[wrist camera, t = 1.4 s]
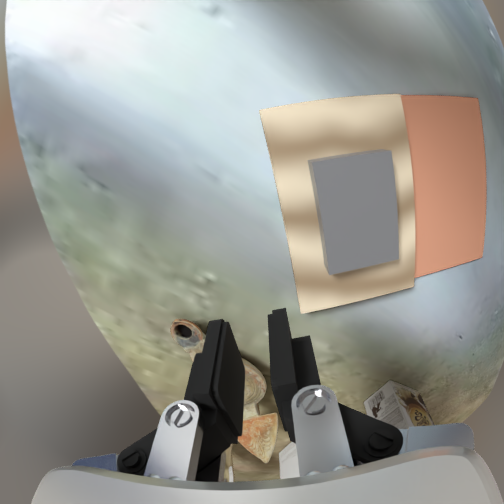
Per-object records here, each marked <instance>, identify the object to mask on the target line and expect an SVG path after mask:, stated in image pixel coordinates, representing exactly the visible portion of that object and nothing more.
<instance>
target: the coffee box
mask: <svg viewBox="0 0 504 504" xmlns="http://www.w3.org/2000/svg"><path fill="white" fill-rule="evenodd" d="M364 406H365V409H366V413H367V415H368V416H371V417H373V418H375V419H378V420H381V421H383V422H386V423H388V424H391V425H393V426H395V427H397V428H398V429H408V428H409V427H414V426H431V425H434V423H433V421H432V419H431V416H430V414H429V412H428V410H427V408H426V406H425V404H424V401H423V399H422V397H421V395H420V393H419V392H418V391H417V390H414V389H412V388H409V387H406V386H404V385H401V384H399V383H396V382H394V381H391V380H389V381H388V382H387V383H386V384H385V385H383V386H382V387H381V388H380V389H379V390H378V391H376V392H375V393H374V394H373V395H372V396H370V397H369V398H368V399H367V400H365V401H364Z"/></svg>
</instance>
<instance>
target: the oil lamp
mask: <svg viewBox="0 0 504 504" xmlns="http://www.w3.org/2000/svg"><path fill="white" fill-rule="evenodd" d="M170 332H171V335H172V338H173V339H174V341H175V342H176V343H177V344H178V345H180V346H181V347H183V348H184V351H185V352H187V353H189V354H190V356H191V359H192V361H194V357H195V354H196V353H202V350H203V346H204V341H205V337H206V335H205V334H204V333H203V332H202V331H201V329H200V328H199V327H198V326H197V325H196V324H195V323H193V322H191V321H189V320H186V319H176V320H174V322H173V323H172V326H171V329H170ZM242 361H243V364H244V367H245V391H244V412H243V432H242V436H238V441H239V442H240V443H241V444H242V445H243V446H244V447H245V448H246V449H247V450H248V451H249V452H251V453H252V454H253V455H255V456H256V457H258V458H259V459H261V460H262V461H263V462H264V463H268V462H269V460H270V458H271V456H272V453H273V450H274V448H275V444H276V440H277V434H278V415H277V413H276V412H275V413H270V414H265V415H260V411H259V406H258V402H259V401H260V400H261V399H262V398H263V397H264V395H265V392H266V388H267V385H266V381H265V378H264V376H263V375H262V373H261V372H260V371H259V370H258V369H257V368H256V367H255V366H254V365H252V364H251V363H250V362H248V361H246V360H245V359H243V358H242Z"/></svg>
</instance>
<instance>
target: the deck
mask: <svg viewBox="0 0 504 504" xmlns="http://www.w3.org/2000/svg"><path fill="white" fill-rule="evenodd" d="M259 113H260V117H261V121H262V125H263V129H264V134H265V138H266V142H267V147H268V151H269V155H270V160H271V164H272V169H273V173H274V178H275V183H276V187H277V192H278V197H279V202H280V206H281V211H282V216H283V221H284V226H285V231H286V236H287V241H288V246H289V252H290V257H291V262H292V267H293V273H294V278H295V284H296V289H297V295H298V301H299V306H300V310H301V314H303V313H308V312H313V311H318V310H322V309H327V308H331V307H336V306H340V305H345V304H349V303H353V302H357V301H361V300H365V299H369V298H373V297H377V296H381V295H385V294H389V293H393V292H396V291H400V290H404V289H407V288H411V287H414V277H415V203H414V187H413V175H412V165H411V156H410V148H409V141H408V134H407V128H406V122H405V116H404V111H403V106H402V101H401V96H400V94H380V95H364V96H351V97H341V98H331V99H323V100H315V101H308V102H301V103H295V104H289V105H283V106H278V107H272V108H267V109H262V110H259ZM378 149H384V150H390V151H391V152H392V159H393V167H394V176H395V186H396V197H397V212H398V233H399V259H398V260H394V261H389V262H385V263H381V264H377V265H373V266H368V267H364V268H360V269H355V270H351V271H346V272H342V273H337V274H333V275H329V274H328V272H327V270H326V268H325V265H324V257H323V250H322V243H321V236H320V229H319V223H318V217H317V210H316V204H315V198H314V193H313V187H312V182H311V176H310V171H309V166H308V160H312V159H317V158H323V157H329V156H336V155H342V154H349V153H356V152H363V151H370V150H378Z"/></svg>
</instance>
